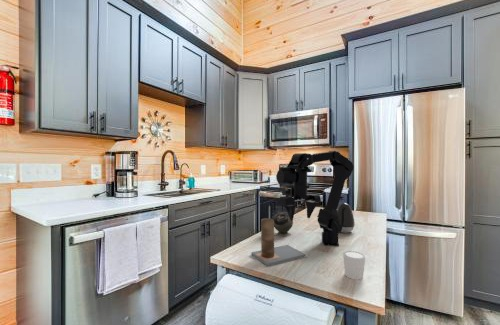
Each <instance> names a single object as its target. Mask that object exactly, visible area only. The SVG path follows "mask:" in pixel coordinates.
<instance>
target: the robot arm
mask: <svg viewBox="0 0 500 325" xmlns="http://www.w3.org/2000/svg"><path fill="white" fill-rule="evenodd" d="M326 161H327V162H328V161H329V163H330V166H331V167H332V169H333V170H332V173H333V176H334V178H333V181H332V185H331V188H330V191H329V194H328V198H327V201H326V205H325V206H324V207H323V208H320V209H319V211H318V215H317V216H316V217H317V223H318V224H319V228H320V229H322V232H321V241H322V242H321V243H323V245H324V246H333V247H335V246H336V247H339V246H340V243H339V233H342V232H341V231H342V226H341V225H340V224H339V223H338V213H337V208H338V206H339V205H340V204H339V203H340V200H341V196H342V193H343V190H344V186H345V183H346V180H347V179H348V178H349V177H350V176H352V173H353V171H354V167H355V166H354V163H353V162H352V161H351V160H349V158H348V157H346V156H345V155H343V154H341V152H340V151H338V150H329V151H324V152H316V153H306V152H304V153H303V152H301V153H300V152H299V153H298V152H297V153H294V154H292V156H291V159H290V161H289V162H288V164H287V165H286V167H283V166H281V167H279V168H278V169H279V170H278V171H277V173H276V176H275V177H276V181H277V183H278V184H279V185H285V184H286V185H289V184H291V186H290V188H288V187H282V188H281V194H282V196H280V197H279V198H278V204H280V205H281V206H283V207H284V208H285V209H286V212H287V213H288V215H289V218H290V221H293V222H294V218H295V216H294V215H295V211H296V210H295V208H296V205H295V203H299V202H304V203H305V205H306V218H307V219H310V218H311V216H312V214H313V213H314V210H315V209H316V208H317V206H318V205H319V203H321V202H322V197H321V195H320V194H316V193H308V189H310V185H308V173H311V172H312V169H311V168H310V167H309V166H312V165H314V164H315V163H319V162H320V163H321V162H326Z"/></svg>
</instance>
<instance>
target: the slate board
mask: <svg viewBox="0 0 500 325" xmlns="http://www.w3.org/2000/svg"><path fill="white" fill-rule="evenodd" d="M250 253H251V256H252V257H254V258H255V259H257V260H258V261H259V262H261V263H262V264H264V265H265V266H266V267H270V266H274V265H279V264H282V263H287V262H290V261H294V260H299V259H301V258H305V257H306V253H304V252H302V251H301V250H298V249H296V248H294V247H293V246H290V245H289V244H283V245H280V246H274V257H272V258H264V257H262V256H261V249H260V250H256V251H252V252H250Z"/></svg>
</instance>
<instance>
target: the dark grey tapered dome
mask: <svg viewBox="0 0 500 325" xmlns="http://www.w3.org/2000/svg"><path fill="white" fill-rule="evenodd" d="M337 213H338V223H339V224H340V225H341V226H342V231H341V232H340V233H343V234H344V233H345V234H347V233H350V232H352V231H353V230H354V228H355V225H356V224H355V217H354V213H353V210H352V208H351V206H350V204H348V203H347V202H342V203H340V204H338V207H337Z"/></svg>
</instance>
